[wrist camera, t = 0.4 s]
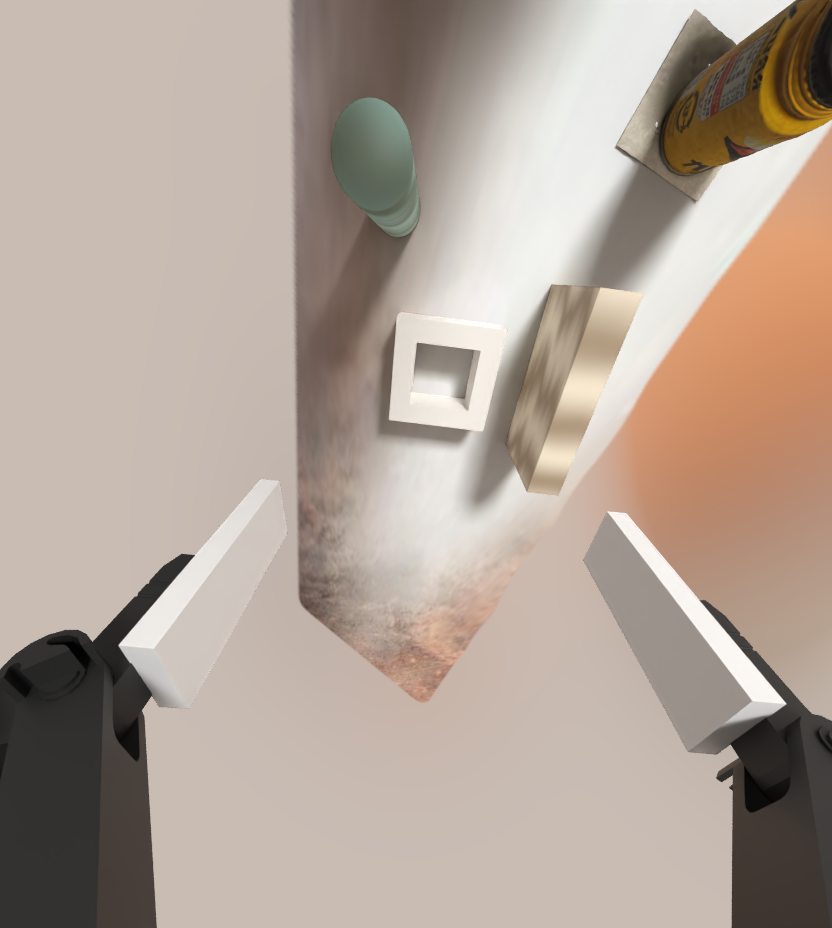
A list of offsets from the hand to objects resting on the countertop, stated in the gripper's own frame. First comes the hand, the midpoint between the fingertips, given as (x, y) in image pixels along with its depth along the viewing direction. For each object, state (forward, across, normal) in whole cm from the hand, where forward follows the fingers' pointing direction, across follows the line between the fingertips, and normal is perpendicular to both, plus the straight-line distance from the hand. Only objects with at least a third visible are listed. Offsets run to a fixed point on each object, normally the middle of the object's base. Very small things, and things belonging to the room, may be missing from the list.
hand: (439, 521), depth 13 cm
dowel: (+25, -5, +14) cm, 29 cm away
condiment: (+25, +18, +21) cm, 37 cm away
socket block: (+25, +1, 0) cm, 25 cm away
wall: (+25, +11, +1) cm, 27 cm away
